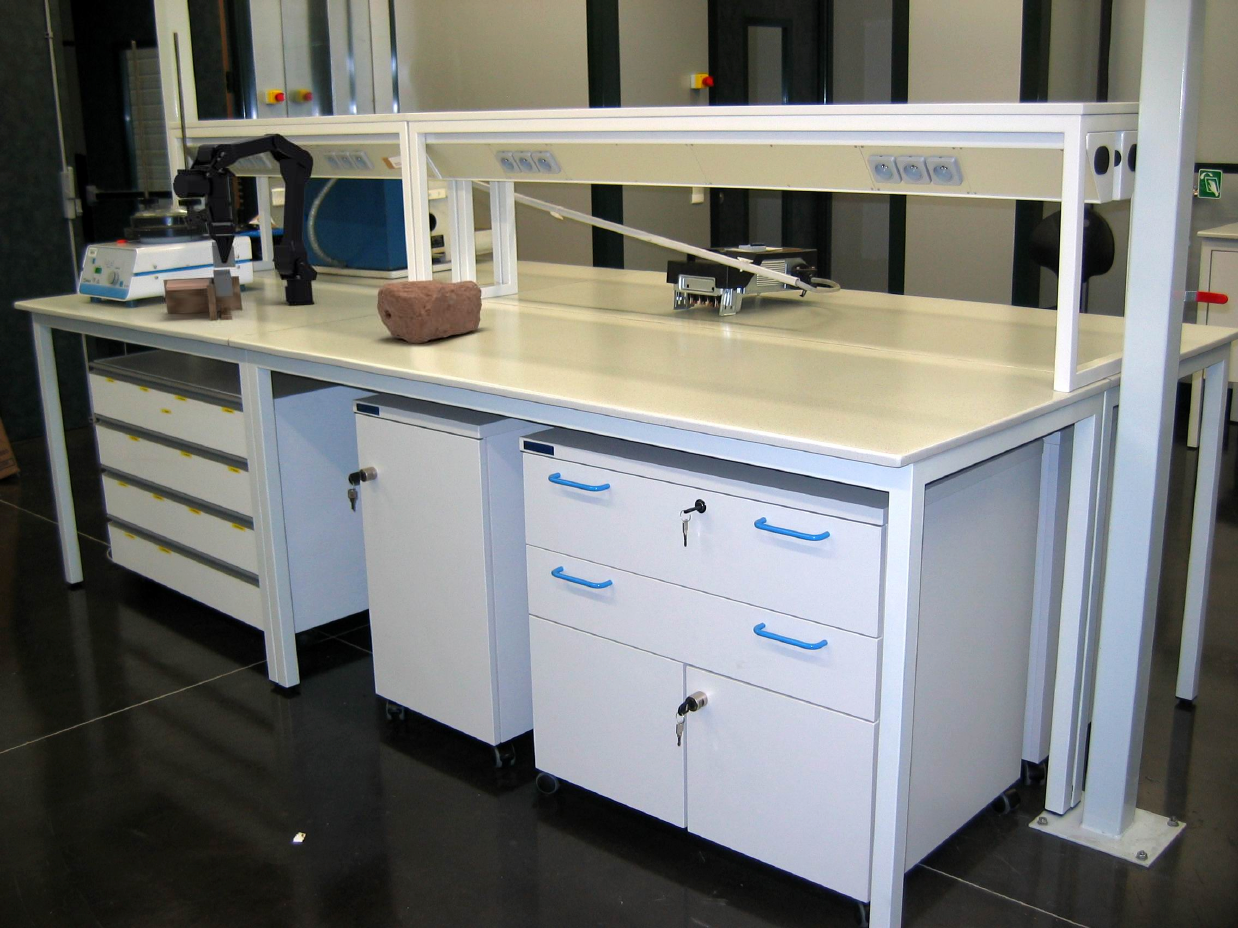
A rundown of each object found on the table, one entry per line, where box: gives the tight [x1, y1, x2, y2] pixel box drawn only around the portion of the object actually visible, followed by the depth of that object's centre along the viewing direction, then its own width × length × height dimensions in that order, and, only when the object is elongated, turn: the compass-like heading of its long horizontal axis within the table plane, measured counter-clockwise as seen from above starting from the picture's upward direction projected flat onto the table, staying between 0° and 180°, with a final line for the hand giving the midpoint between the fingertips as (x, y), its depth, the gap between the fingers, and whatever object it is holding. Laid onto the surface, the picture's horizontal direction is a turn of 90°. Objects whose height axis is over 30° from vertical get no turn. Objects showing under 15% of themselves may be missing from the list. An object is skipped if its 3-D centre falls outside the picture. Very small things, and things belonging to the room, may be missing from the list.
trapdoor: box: [166, 268, 233, 297], centre depth 279 cm, size 15×14×5 cm
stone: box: [376, 279, 483, 344], centre depth 248 cm, size 16×26×15 cm, turn 142°
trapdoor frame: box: [163, 275, 243, 321], centre depth 280 cm, size 18×17×8 cm
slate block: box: [211, 241, 236, 269], centre depth 278 cm, size 5×5×6 cm
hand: (224, 262), depth 279 cm, fingers closed on slate block, 5 cm apart
